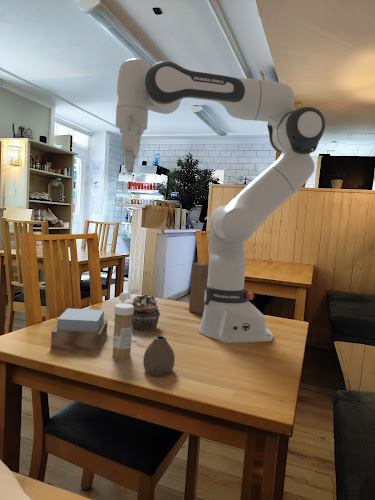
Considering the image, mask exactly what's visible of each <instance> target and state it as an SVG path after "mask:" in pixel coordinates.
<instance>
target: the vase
mask: <svg viewBox="0 0 375 500" xmlns="http://www.w3.org/2000/svg"><path fill="white" fill-rule="evenodd" d="M175 361H176V360H175V352H174V349H173V348H172V347H171V345H170V344H169V342H168V340H167V337H165V336H164V335H157V336H155V337H154V338H153V340H152V341H151V343H150V344H149V345H148V347H146V350H145V352H144V354H143V363H142V364H143V368H144V371H145V373H146V374H147V375H149V376H152V377H161V378H162V377H166V376H170V375H171V373H172V372H173V370H174V367H175Z"/></svg>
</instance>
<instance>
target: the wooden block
mask: <svg viewBox="0 0 375 500" xmlns="http://www.w3.org/2000/svg"><path fill="white" fill-rule="evenodd" d="M208 269H209V263H203V262H194V263H193V262H192V264H191V276H190V289H189V290H190V291H189V303H188V305H189V306H188V312H192V313H195V314H198V315H201V316H203V313H204V308H205V302H204V296H205V289H206V285H207V282H208Z"/></svg>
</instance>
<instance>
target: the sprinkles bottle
mask: <svg viewBox="0 0 375 500" xmlns="http://www.w3.org/2000/svg"><path fill="white" fill-rule="evenodd" d="M133 313H134V306H133V305H131V304H127V303H121V302H120V303H117V304H115V305H114V327H113V339H112V342H113V343H112V356H111V357H112V358H113V359H114V360H118V361H123V360H124V361H125V360H128V359H130V358H131V348H132V338H133V337H132V336H133V330H132V318H133Z"/></svg>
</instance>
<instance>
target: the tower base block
mask: <svg viewBox="0 0 375 500" xmlns="http://www.w3.org/2000/svg"><path fill="white" fill-rule="evenodd" d="M50 333H51V334H50V338H51V339H50V349H59V350H60V349H61V350H64V349H66V350H97V351H99V350H101V347H102V346H103V343H104V341H105V339H106V338H107V335H108V319H104V321H103V323H102V324H101V326H100V328H99V330H98V332H76V331H57V325H56V326H55V327H54V328H53V330H51V332H50Z"/></svg>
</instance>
